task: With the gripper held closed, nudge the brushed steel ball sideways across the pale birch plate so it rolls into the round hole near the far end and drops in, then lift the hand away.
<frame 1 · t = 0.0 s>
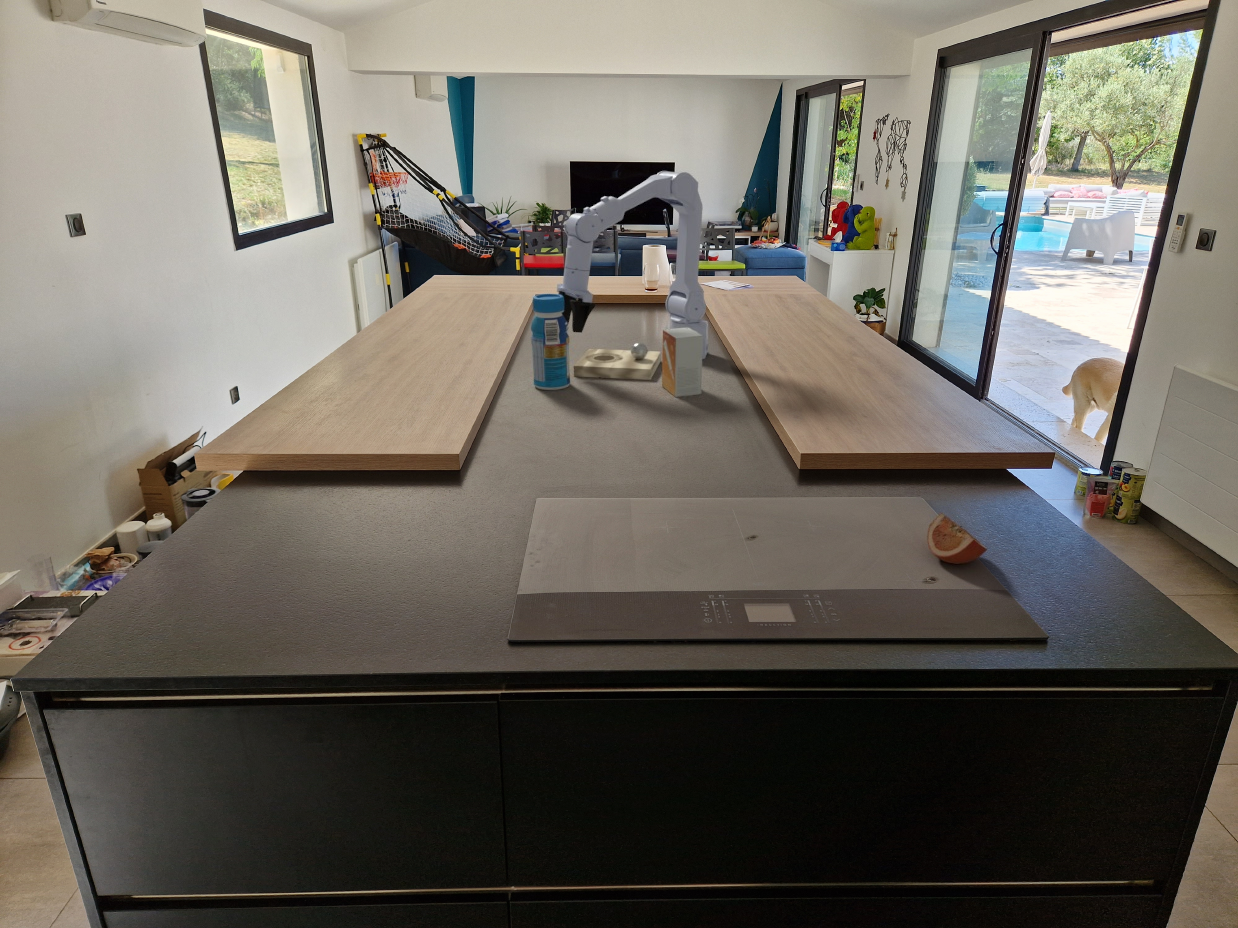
hand: (570, 328, 187), 11 cm above the table, tool pointing down, fingers open, 7 cm apart
steel ball: (639, 351, 192), point 4 cm above the table, touching hole plate
small box: (681, 391, 178), on the table
fruit slice: (953, 559, 108), on the table
hole plate: (618, 368, 194), on the table
beverage bottle: (552, 386, 182), on the table
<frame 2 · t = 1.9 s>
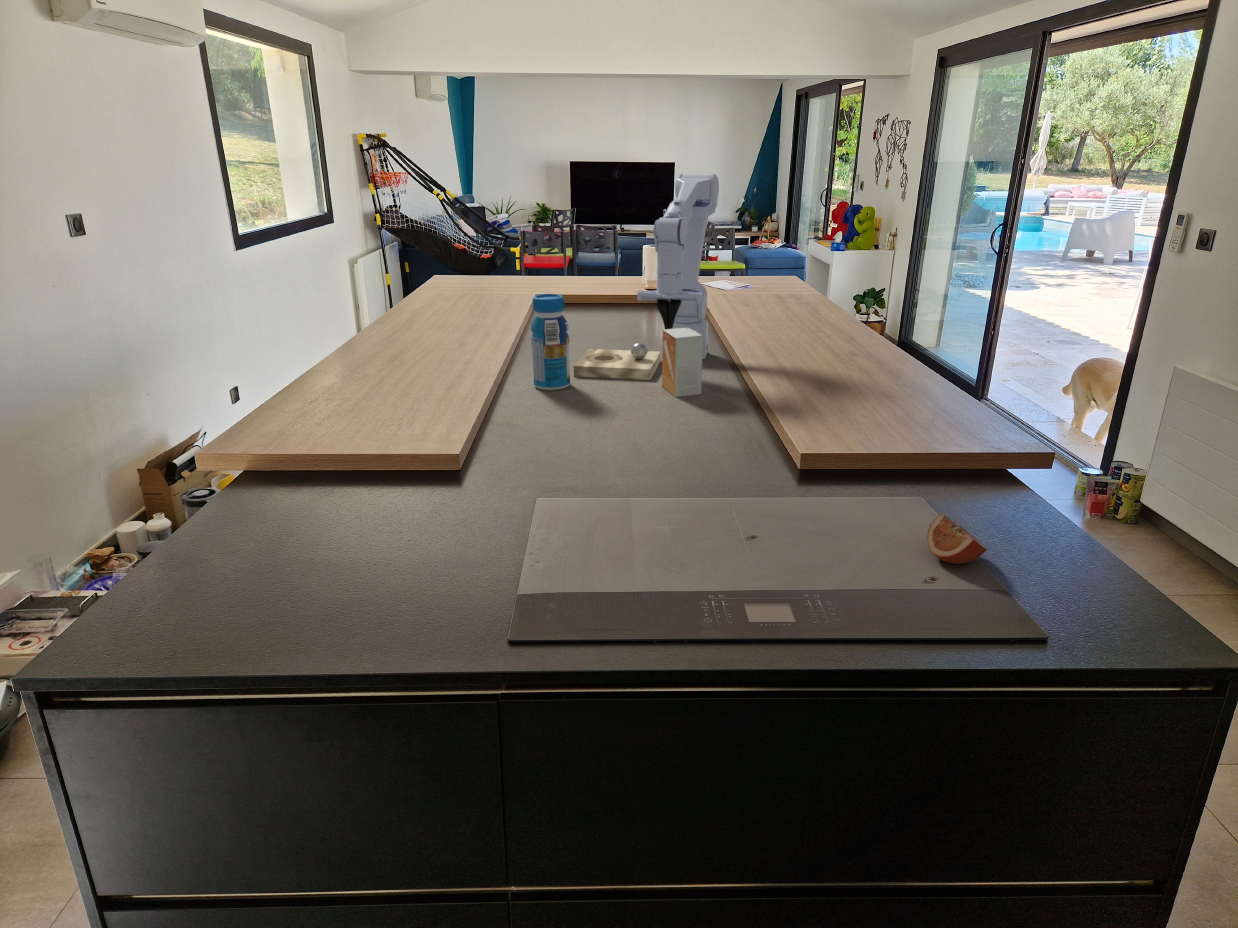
hand: (668, 332, 189), 9 cm above the table, tool pointing down, fingers closed
nothing on the table moved.
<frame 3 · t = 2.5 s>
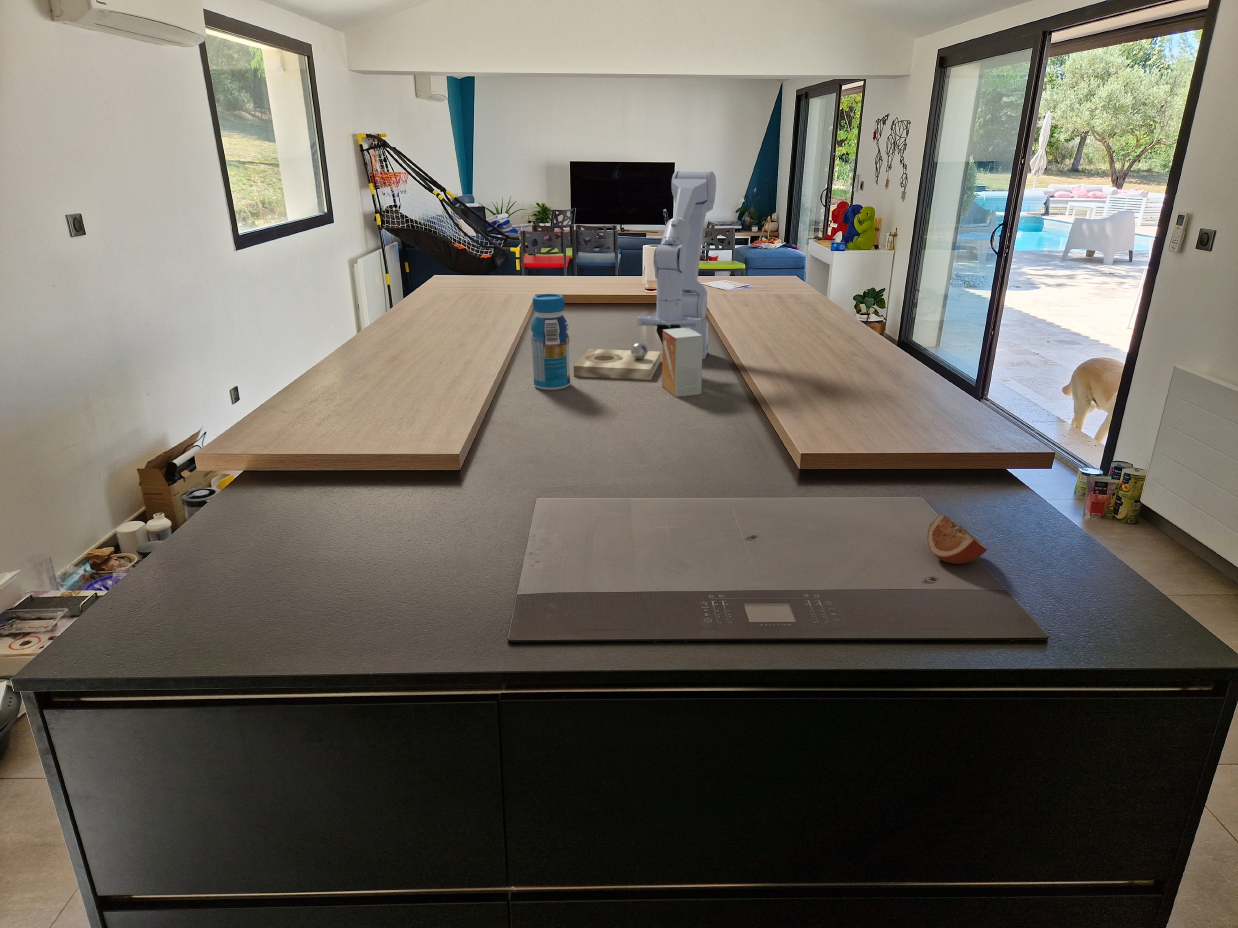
hand: (668, 357, 191), 3 cm above the table, tool pointing down, fingers closed
nothing on the table moved.
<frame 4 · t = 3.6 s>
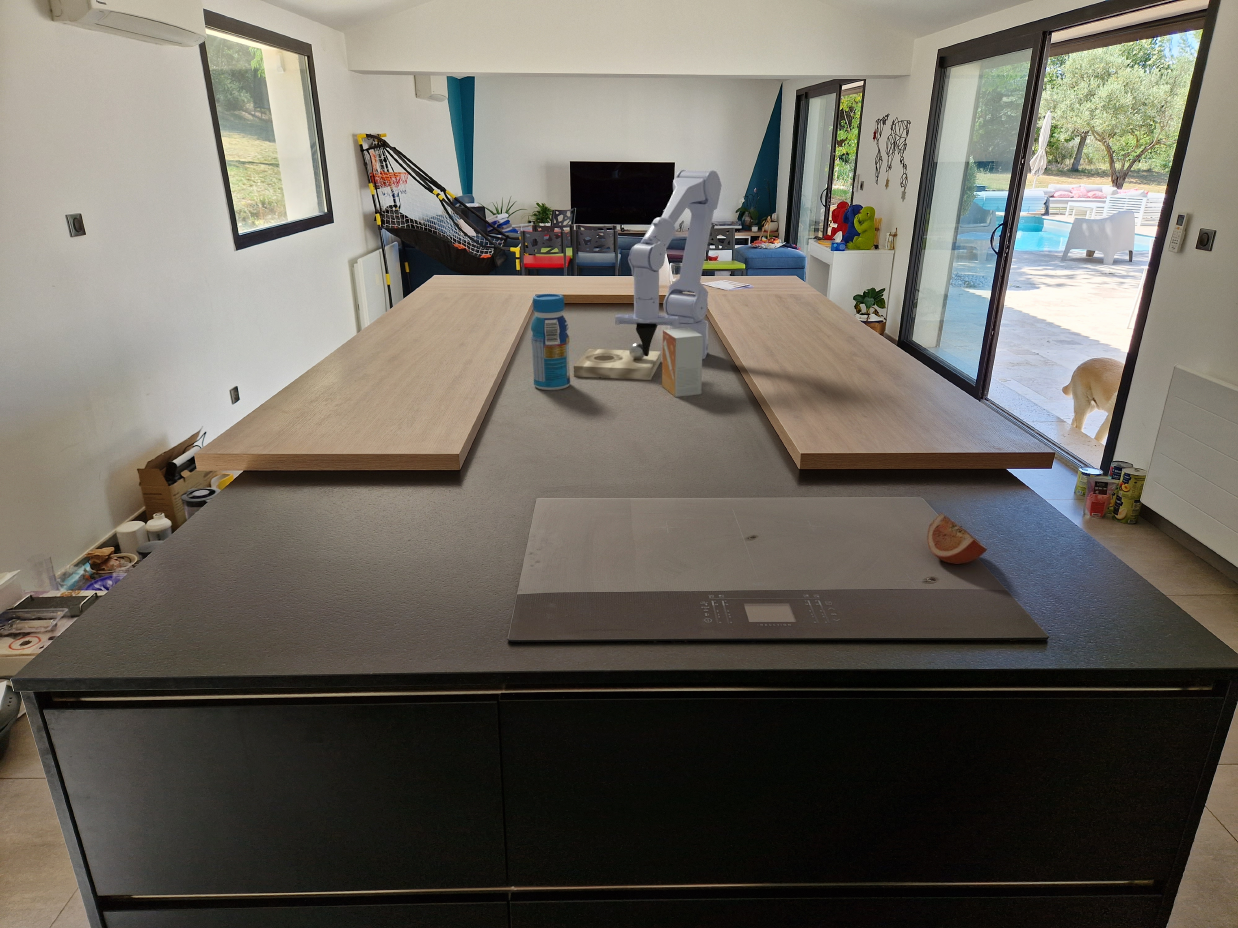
hand: (646, 355, 192), 4 cm above the table, tool pointing down, fingers closed, pressing on steel ball
steel ball: (637, 351, 192), point 4 cm above the table, tilted 11°, touching gripper, hole plate
everything else where it was.
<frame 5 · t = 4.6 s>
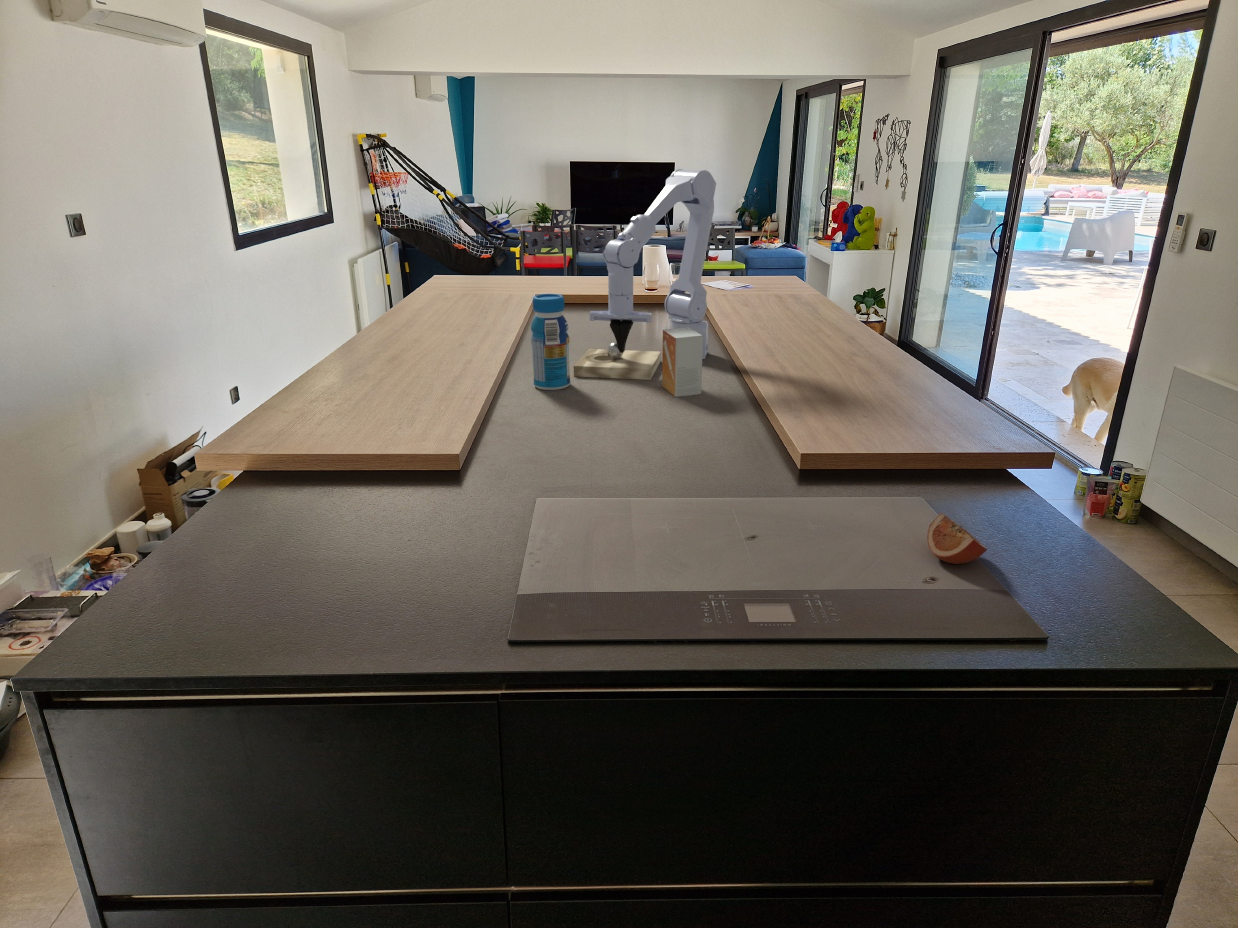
hand: (620, 351, 192), 4 cm above the table, tool pointing down, fingers closed, pressing on steel ball
steel ball: (615, 350, 193), point 4 cm above the table, tilted 164°, touching gripper, hole plate
everything else where it was.
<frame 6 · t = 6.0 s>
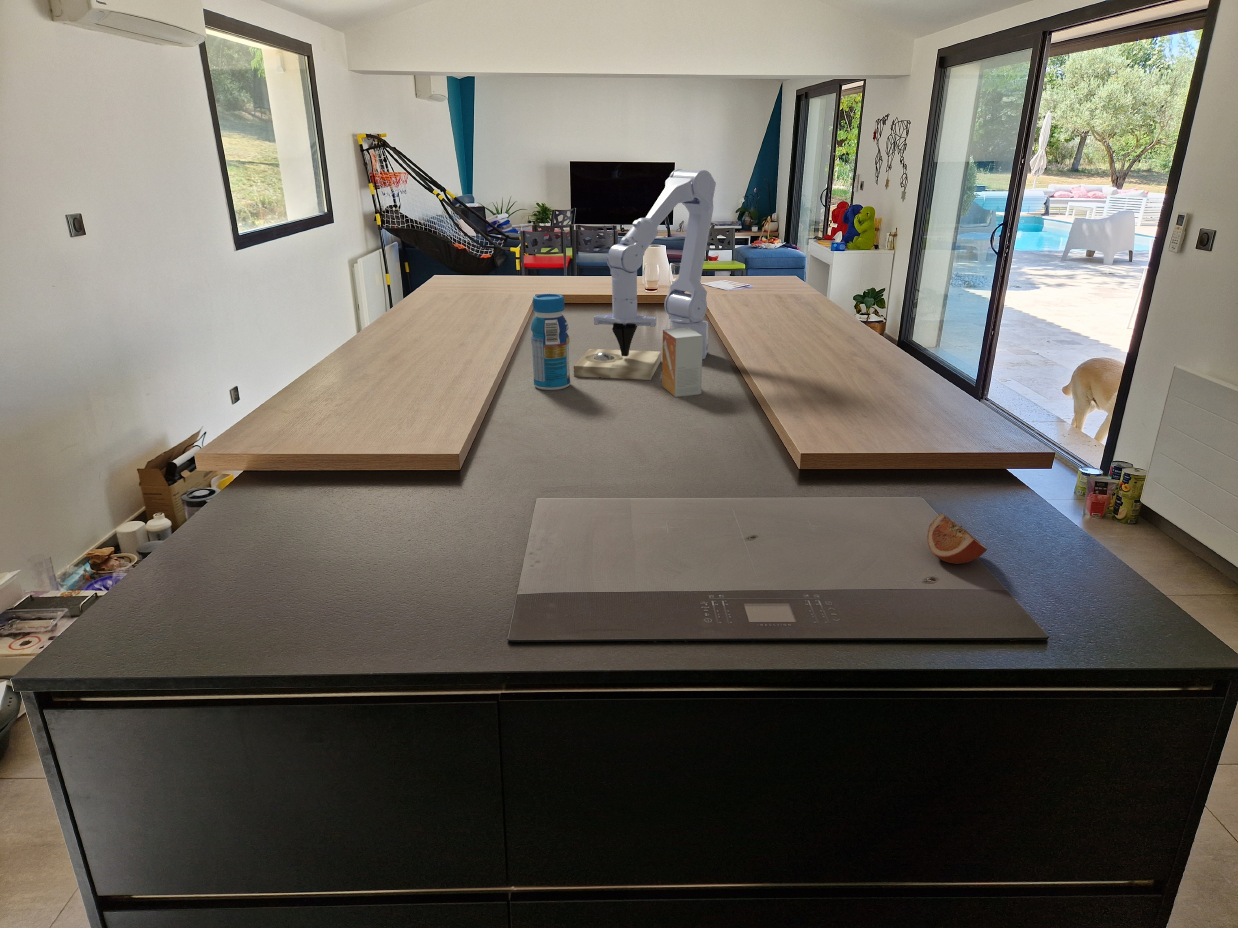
hand: (625, 355, 193), 3 cm above the table, tool pointing down, fingers closed
steel ball: (602, 360, 194), point 2 cm above the table, tilted 158°
everything else where it was.
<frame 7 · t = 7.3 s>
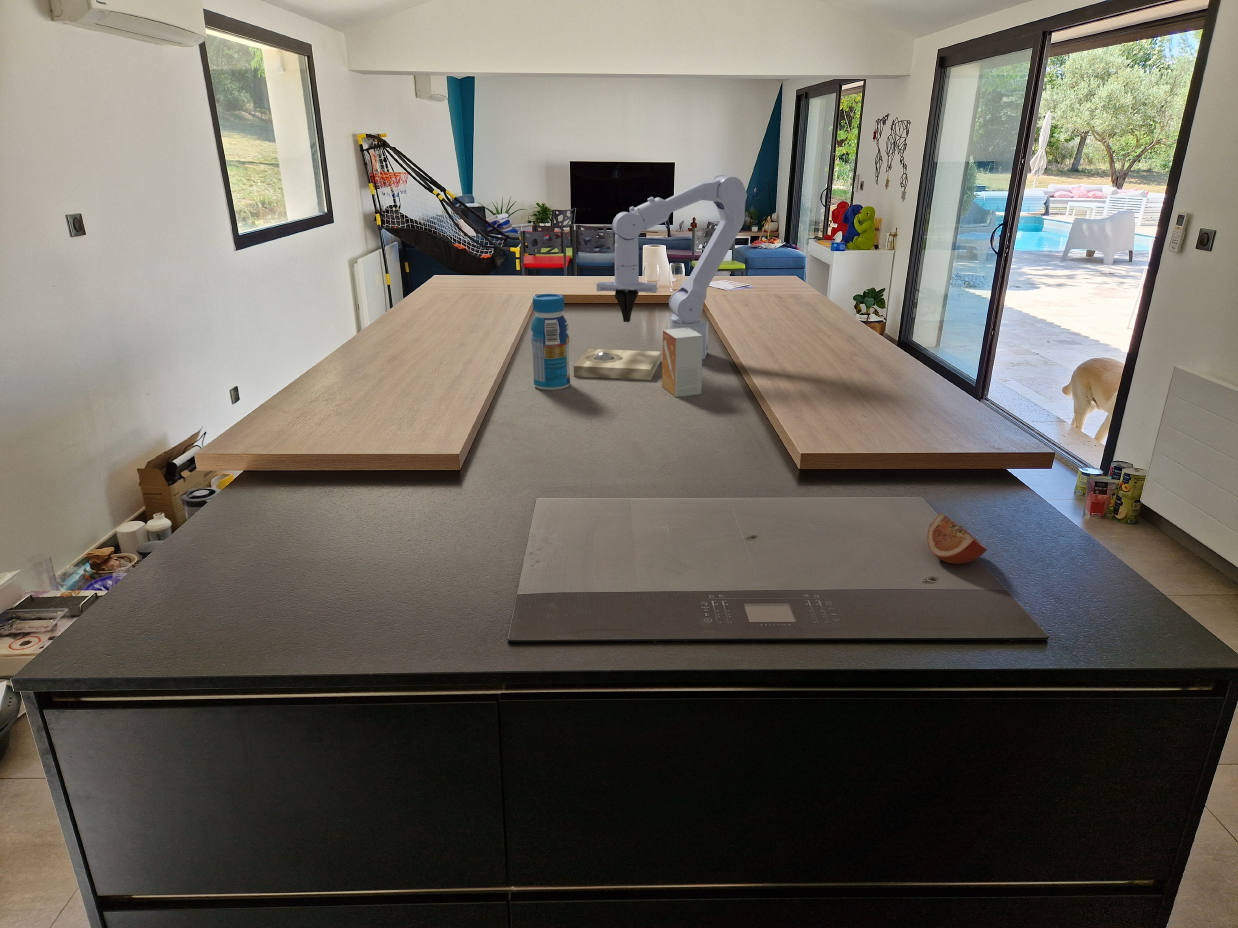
hand: (627, 321, 199), 9 cm above the table, tool pointing down, fingers closed
nothing on the table moved.
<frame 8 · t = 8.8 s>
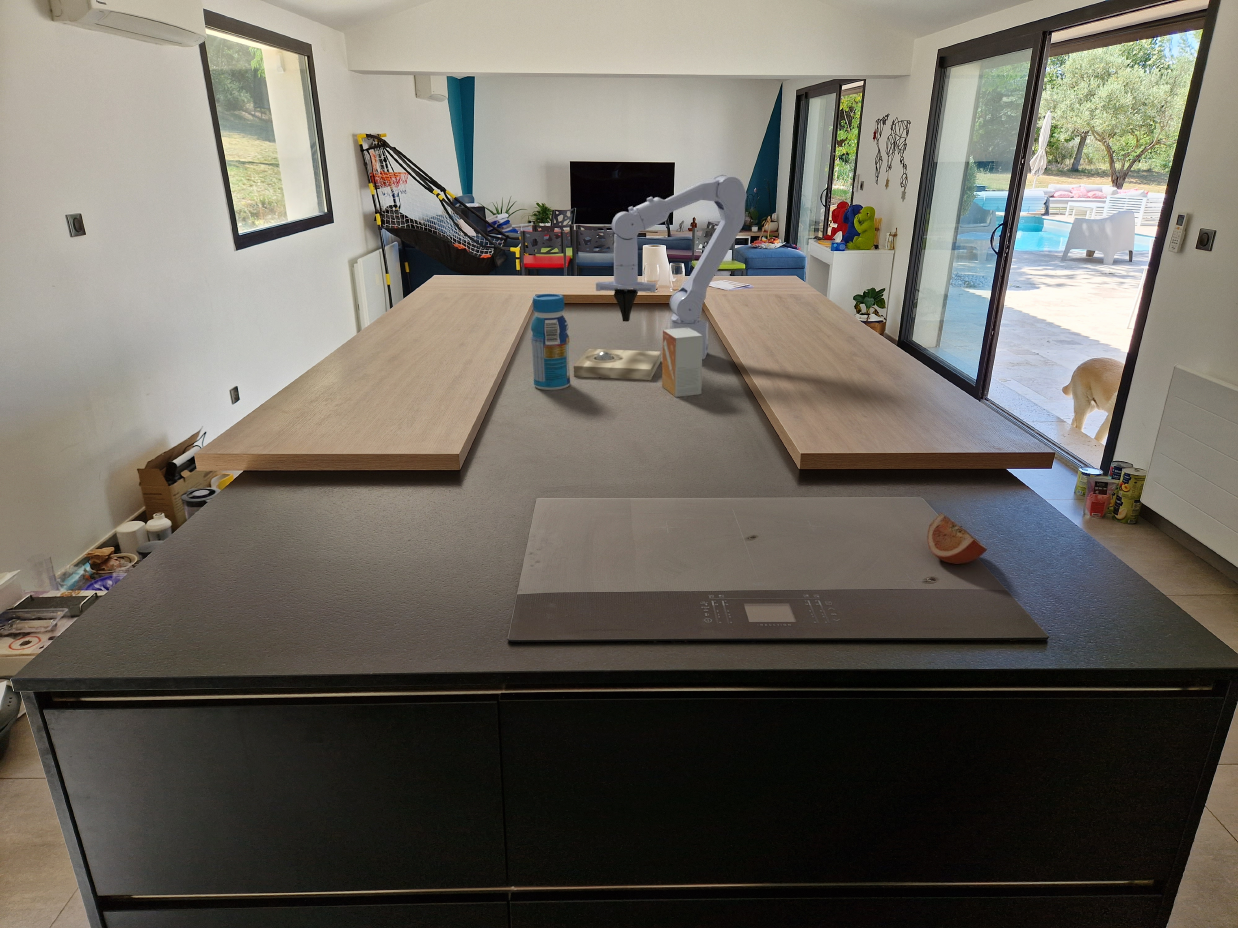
hand: (626, 320, 200), 9 cm above the table, tool pointing down, fingers closed
nothing on the table moved.
at the end: steel ball 0.0 cm from the target spot in the hole plate, point 2.0 cm above the hole plate's base; steel ball moved 8.9 cm from its start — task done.
